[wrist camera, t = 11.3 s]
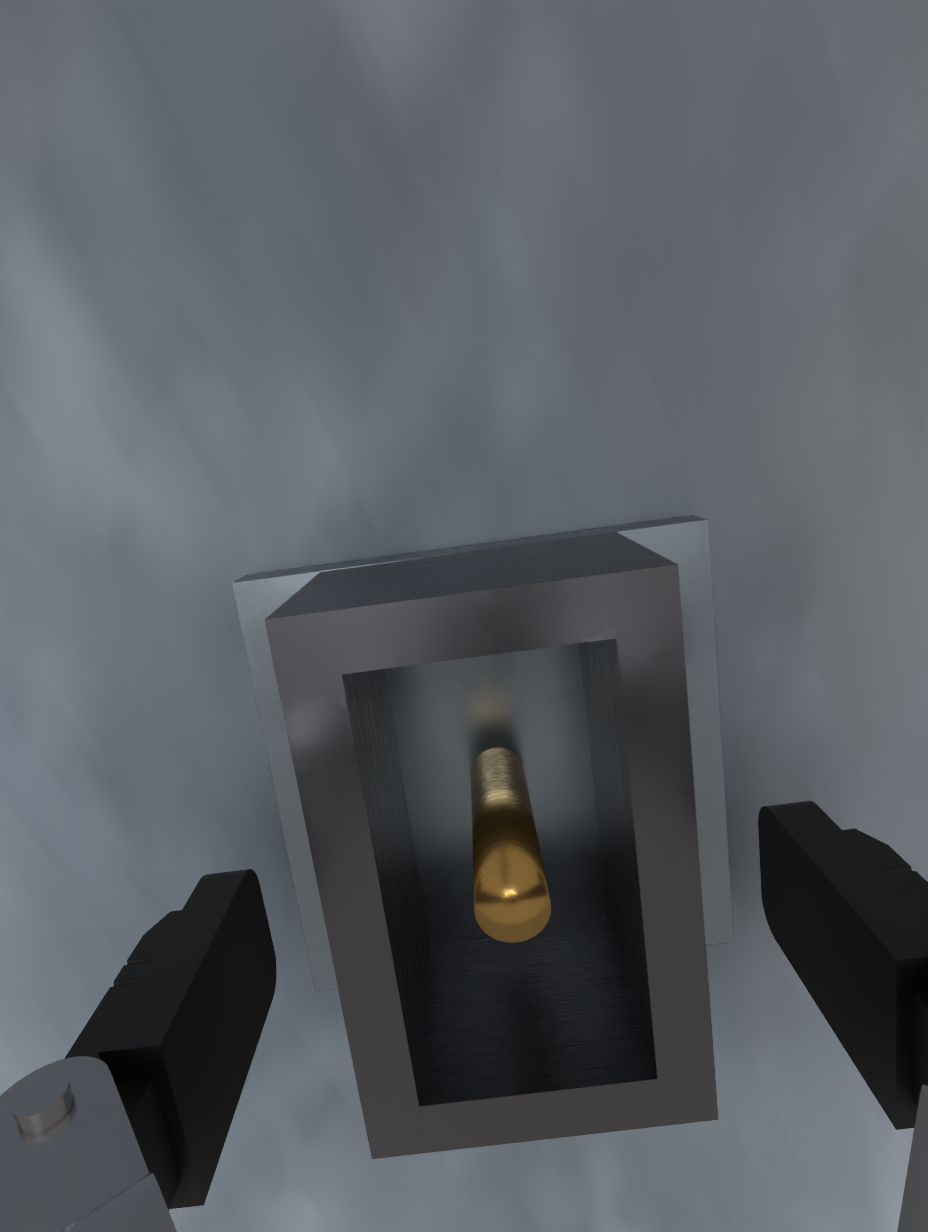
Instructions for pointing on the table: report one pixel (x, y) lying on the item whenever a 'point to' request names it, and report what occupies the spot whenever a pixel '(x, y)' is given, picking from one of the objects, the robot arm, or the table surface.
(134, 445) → the table surface
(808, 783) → the table surface
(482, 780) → the peg plate
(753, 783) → the table surface
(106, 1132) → the robot arm
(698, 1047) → the grey storage bin
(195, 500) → the table surface
